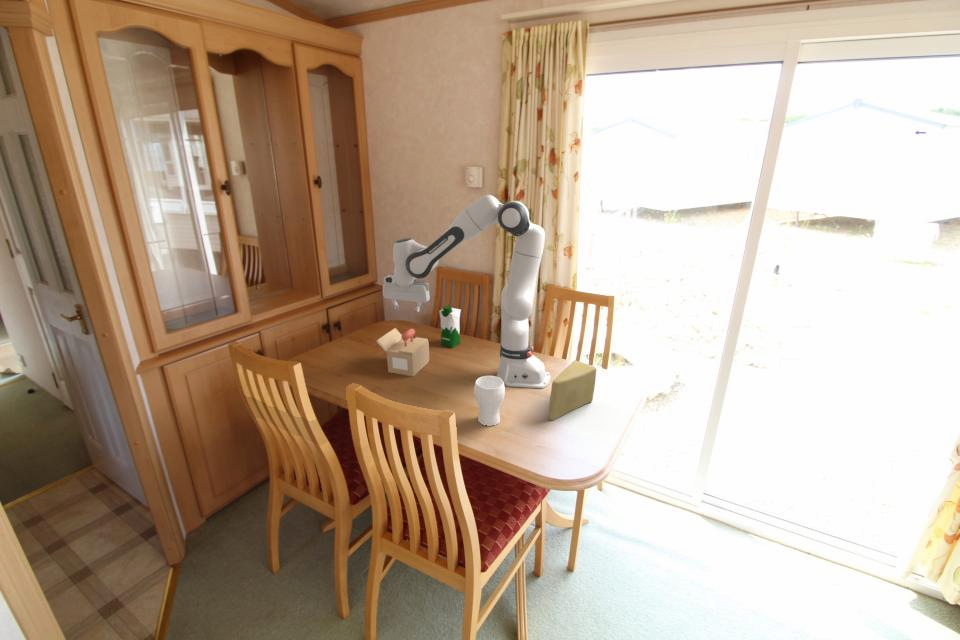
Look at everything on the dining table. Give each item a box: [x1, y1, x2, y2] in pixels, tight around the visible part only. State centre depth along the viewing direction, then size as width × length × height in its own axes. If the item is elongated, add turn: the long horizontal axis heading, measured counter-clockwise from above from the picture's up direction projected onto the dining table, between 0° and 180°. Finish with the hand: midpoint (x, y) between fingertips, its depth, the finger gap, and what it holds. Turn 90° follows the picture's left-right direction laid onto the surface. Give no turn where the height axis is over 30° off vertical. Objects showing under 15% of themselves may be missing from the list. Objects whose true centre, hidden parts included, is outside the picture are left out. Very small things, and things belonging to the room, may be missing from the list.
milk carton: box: [438, 305, 462, 349], centre depth 212 cm, size 9×9×20 cm
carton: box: [386, 337, 430, 377], centre depth 190 cm, size 12×16×10 cm
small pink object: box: [399, 328, 429, 354], centre depth 186 cm, size 7×16×7 cm, turn 162°
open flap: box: [375, 327, 403, 353], centre depth 190 cm, size 6×16×1 cm
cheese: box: [548, 360, 597, 421], centre depth 157 cm, size 22×10×15 cm, turn 137°
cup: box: [473, 375, 506, 427], centre depth 150 cm, size 11×11×15 cm
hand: (406, 310), depth 183 cm, fingers open, 8 cm apart
